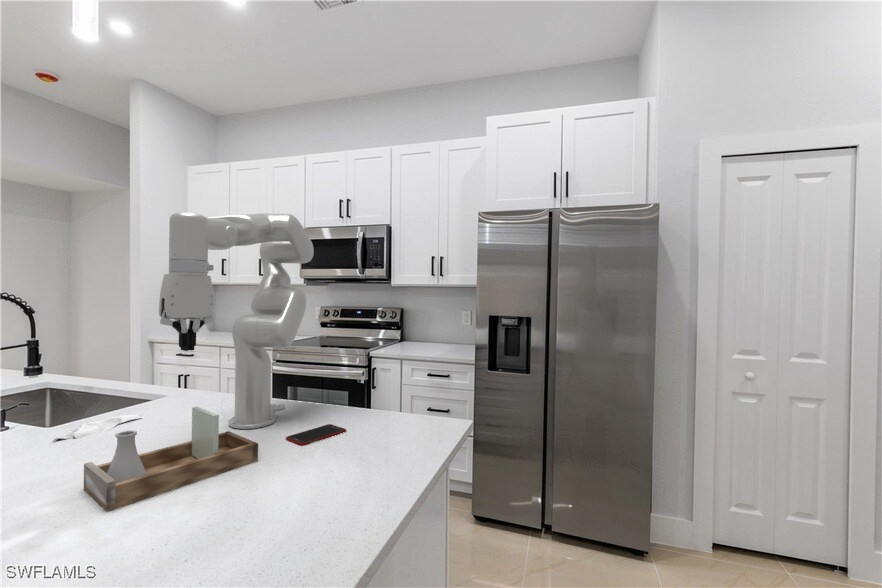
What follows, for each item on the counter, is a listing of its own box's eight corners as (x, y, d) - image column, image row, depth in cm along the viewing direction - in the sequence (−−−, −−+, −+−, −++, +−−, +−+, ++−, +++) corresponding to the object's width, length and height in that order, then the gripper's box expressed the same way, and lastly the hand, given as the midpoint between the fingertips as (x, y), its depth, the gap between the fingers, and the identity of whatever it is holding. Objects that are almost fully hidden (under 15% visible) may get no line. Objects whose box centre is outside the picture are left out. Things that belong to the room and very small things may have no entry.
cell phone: (347, 432, 117) (347, 429, 117) (301, 448, 105) (301, 444, 105) (329, 427, 122) (330, 423, 122) (284, 440, 110) (284, 437, 110)
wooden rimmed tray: (228, 447, 104) (228, 427, 104) (257, 460, 96) (258, 438, 96) (83, 489, 81) (83, 463, 81) (106, 511, 73) (107, 482, 73)
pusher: (196, 453, 96) (196, 406, 96) (218, 465, 90) (218, 414, 90) (191, 455, 95) (192, 407, 95) (213, 466, 89) (214, 415, 89)
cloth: (136, 413, 132) (136, 406, 132) (164, 419, 126) (164, 412, 126) (27, 439, 108) (27, 430, 108) (55, 448, 102) (55, 439, 102)
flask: (119, 496, 77) (120, 441, 77) (91, 489, 79) (92, 436, 79) (157, 479, 84) (158, 429, 84) (130, 474, 86) (131, 425, 86)
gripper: (214, 270, 103) (213, 345, 103) (143, 267, 91) (142, 351, 91) (230, 270, 99) (228, 348, 99) (157, 266, 87) (156, 355, 87)
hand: (187, 349), depth 95 cm, fingers closed
